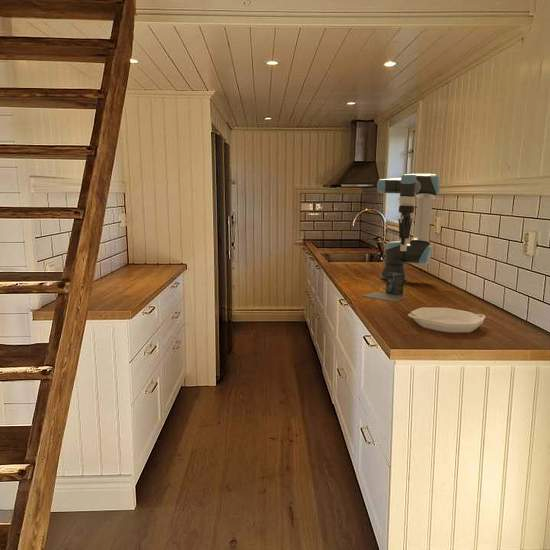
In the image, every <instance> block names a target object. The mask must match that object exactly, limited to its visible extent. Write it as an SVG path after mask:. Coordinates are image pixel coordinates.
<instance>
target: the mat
mask: <svg viewBox="0 0 550 550" xmlns="http://www.w3.org/2000/svg"><path fill="white" fill-rule="evenodd" d="M362 297H364V298H370V299H375V298H376V299H377V300H382V301H387V300H388V302H393V303H397V302H400V301H402V300H405V299H408V296H404V295H393V294H390V293H386V292H385V293H383V292H379V291H378V292H377V291H373V292H370V293H367V294H364V295H362ZM376 299H375V300H376Z"/></svg>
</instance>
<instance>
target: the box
mask: <svg viewBox="0 0 550 550" xmlns="http://www.w3.org/2000/svg"><path fill="white" fill-rule="evenodd" d="M404 282H405V280H404V275H403V274H399V273H396V272H388V273H387V280H386V282H385V293H386V294H392V295H398V296H404V295H403V294H404Z"/></svg>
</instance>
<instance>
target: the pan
mask: <svg viewBox="0 0 550 550" xmlns="http://www.w3.org/2000/svg"><path fill="white" fill-rule="evenodd" d="M407 316H408V317H410V318H412V319H414V322H415V323H416V324H417V325H419V326H420V327H421V328H424V329H427V330H431V331H437V332H440V333H441V332H442V333H446V334H447V333H448V334H449V333H451V334H469V333H472V332H474V331H476V330H477V329H478V327H480V326H481V325H482V324H483V323H484V320H485V319H486V318H487V317H486V316H485V314H480V313H479V314H478V313H476V314H475V313H474V312H472V311H466V310H460V309H457V308H456V309H455V308H450V307H419V308H417V309H414V310H411V311H410V313H408V314H407Z"/></svg>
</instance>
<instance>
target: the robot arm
mask: <svg viewBox="0 0 550 550" xmlns="http://www.w3.org/2000/svg"><path fill="white" fill-rule="evenodd" d="M440 186H441V184H440V177H439V175H438V174H436V173H434V174H433V173H408V174H402V175H399V176H398V177H396V178H380V179H378V180H377V184H376V190H377V193H380V194H399V198H398V201H399V202H398V203H399V206H398V213H401V214H400V218H398V219H397V221H398V236H399V237H398V238H399V239H400V240H396V241H395V240H392V241H387V243H386V244H385V253H384V254H385V255H384V266H383V267H382V268H383V269H382V271H381V274H380V279H381V280H386V281H387V273H388V272H396V273H399V274H403V275H404V281H406V280H407V273H406V270H405V264H415V265H416V264H417V265H427V264H428V263H429V262H430V261H431V257H432V253H433V245H431V241H430V240H429V233H430V227H431V226H430V225H431V217H432V209H433V204H434V200H435V199H436V198H437V195H439V194H440V191H441V187H440ZM416 199H417V204H416V211H415V206H414V205H415V202H416V201H415V200H416ZM414 211H415V212H416V213H415V212H414ZM413 213H415V218H414V219H415V220H414V226H413V227H414V228H413V236H412V237H413V238H411V239H410V234H411V227H412V222H413V218H411V217H412V216H411V214H413ZM408 239H410V240H409V243H408Z"/></svg>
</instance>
